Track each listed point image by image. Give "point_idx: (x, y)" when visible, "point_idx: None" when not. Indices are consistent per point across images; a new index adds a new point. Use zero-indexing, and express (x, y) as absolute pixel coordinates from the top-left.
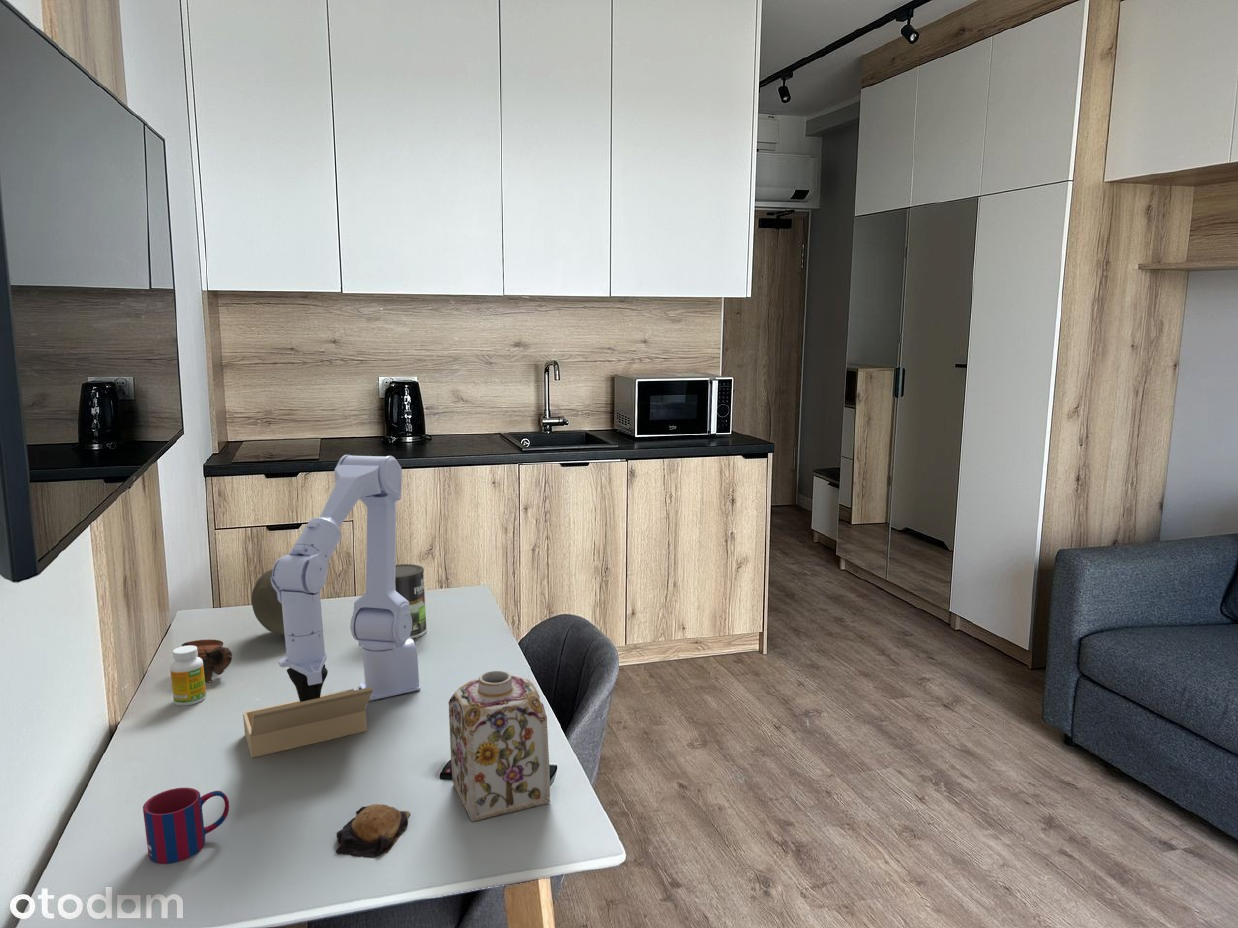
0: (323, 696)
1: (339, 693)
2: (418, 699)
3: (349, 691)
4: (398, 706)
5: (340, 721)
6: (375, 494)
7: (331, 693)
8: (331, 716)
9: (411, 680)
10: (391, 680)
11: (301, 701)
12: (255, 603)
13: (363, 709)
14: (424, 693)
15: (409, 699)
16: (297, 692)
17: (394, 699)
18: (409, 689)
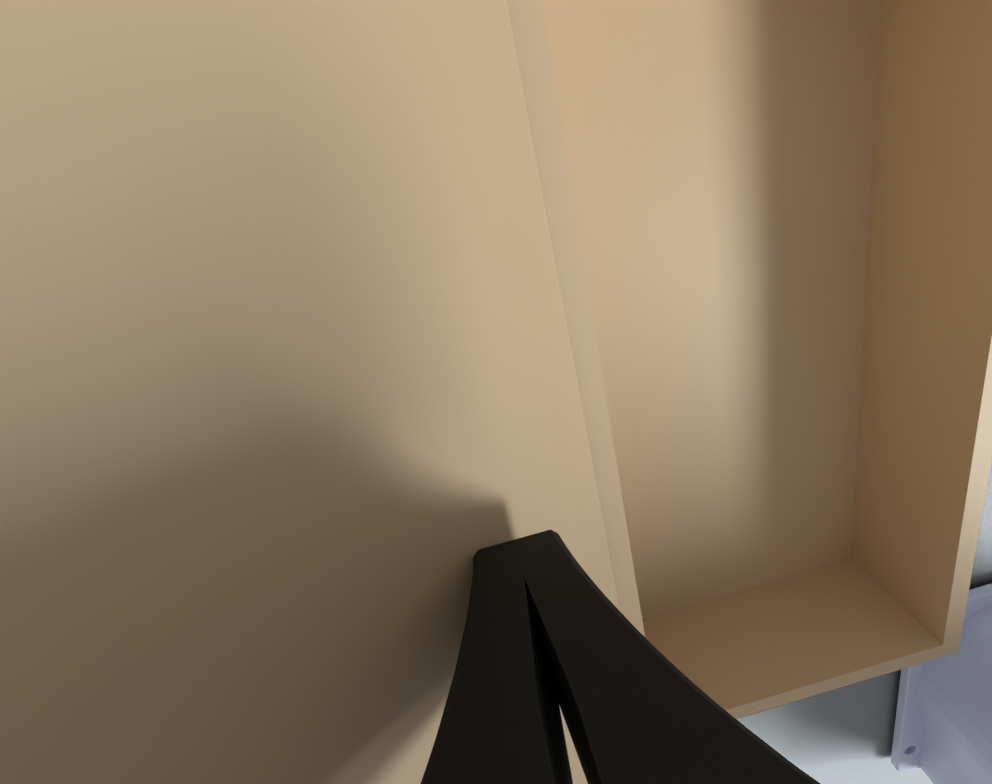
0: (961, 508)
1: (946, 588)
2: (810, 761)
3: (938, 634)
4: (787, 709)
5: None
6: None
7: (974, 549)
8: None
9: (949, 780)
10: (972, 753)
11: (455, 668)
12: None
13: None
14: (853, 772)
15: (830, 735)
16: (631, 674)
17: (865, 688)
18: (906, 743)
